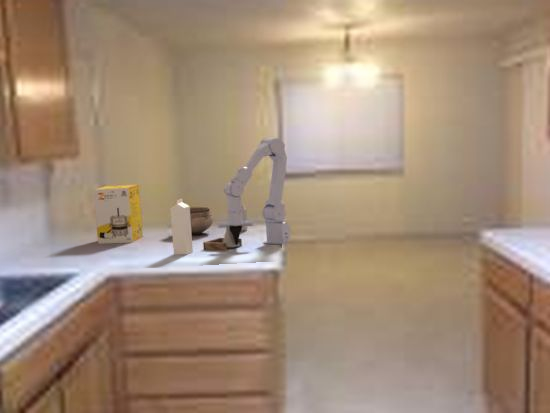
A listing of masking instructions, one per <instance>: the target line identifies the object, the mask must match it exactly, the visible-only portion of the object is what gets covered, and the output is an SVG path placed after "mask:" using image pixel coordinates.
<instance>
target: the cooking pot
mask: <svg viewBox="0 0 550 413" xmlns="http://www.w3.org/2000/svg"><path fill="white" fill-rule="evenodd" d="M210 209H211V206H190V219H191V234H192V236H199V235H202V233H204V232H205V231H207V230H208V229H210V227H211V226H212V224H213V221H214V219H213V218H214V217H213V214H212V212H211V210H210Z"/></svg>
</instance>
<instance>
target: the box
mask: <svg viewBox="0 0 550 413" xmlns="http://www.w3.org/2000/svg"><path fill="white" fill-rule="evenodd" d="M223 240H224V237H216V238H215V239H214V238H213V239H211V240H208V241H204V242H202V245H203V246H202V247H203V250H207V251H223V252H227V251H228V248H227V245H226V243H223ZM242 240H243V239H242V238H240V237H239V241H238V242H239V245H240V246H239V247H241V246H242V245H243V244H242V243H243V242H242Z"/></svg>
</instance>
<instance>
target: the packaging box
mask: <svg viewBox="0 0 550 413" xmlns="http://www.w3.org/2000/svg"><path fill="white" fill-rule="evenodd" d="M93 201H94V210H95V211H94V214H95V223H96V235H97V244H99V245H103V244H125V243H127V244H130V243H134V242H136V241H138V240H139V239H141V238H142V237H144V235H143V225H142V224H143V222H142V210H141V197H140V185H139V184H125V185H122V184H121V185H106V186H102V187H98V188H94V189H93Z"/></svg>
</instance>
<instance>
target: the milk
mask: <svg viewBox="0 0 550 413" xmlns="http://www.w3.org/2000/svg"><path fill="white" fill-rule="evenodd" d="M190 207H191V205H188V204H187V203H184V202H183V198H179V199H177V200H176V204H175V205H173V206H172V207H170V220H171V234H172V249H173V255H174V256H175V255H190V254H191V253H193V252H194V251H193V250H194V249H193V239H192V238H193V237H192V236H193V235H192V234H191V219H190Z"/></svg>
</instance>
